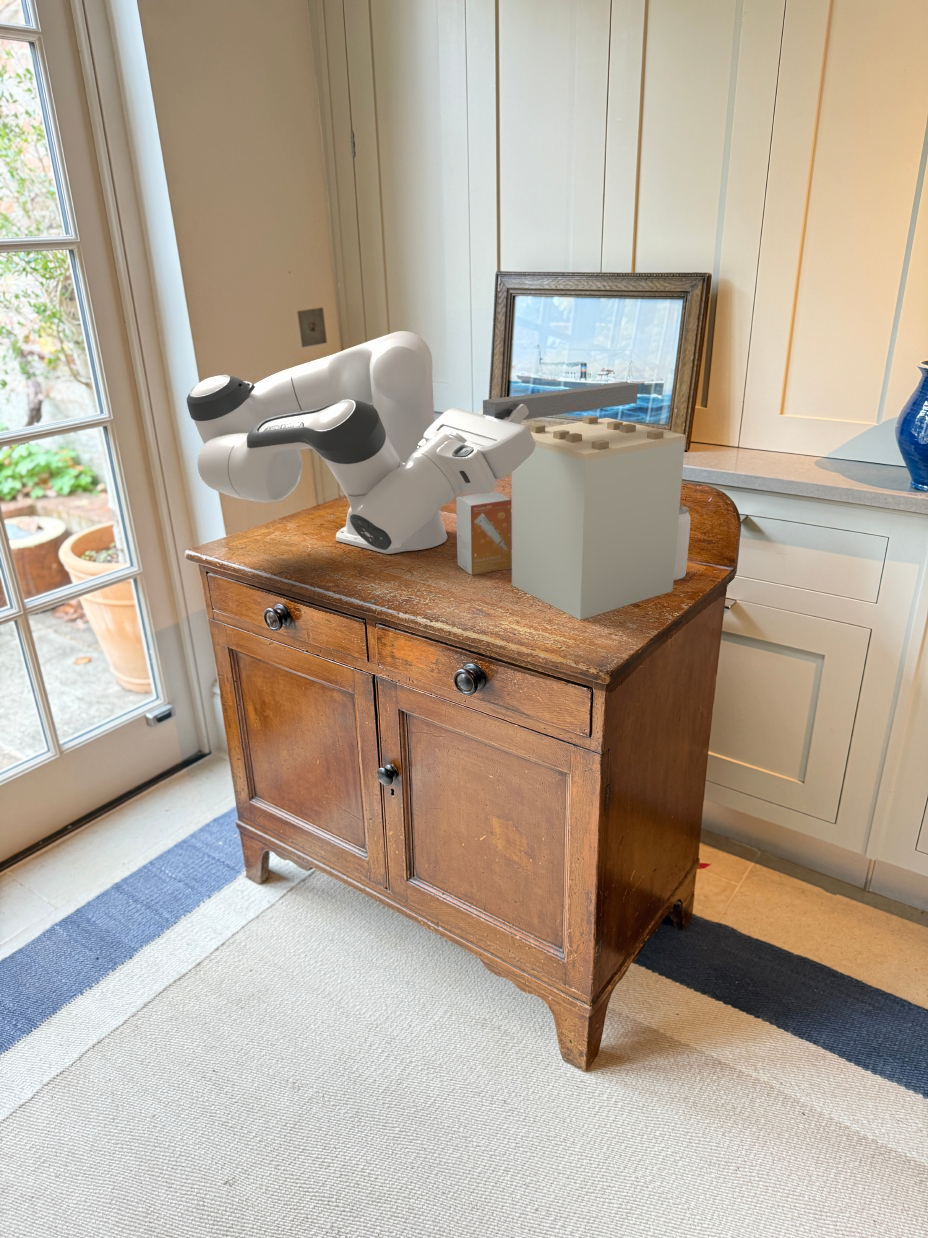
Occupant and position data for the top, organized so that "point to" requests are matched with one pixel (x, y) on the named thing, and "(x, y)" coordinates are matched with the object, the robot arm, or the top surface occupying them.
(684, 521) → the can
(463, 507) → the small box
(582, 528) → the stand
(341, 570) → the top surface
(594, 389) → the long grey bar
